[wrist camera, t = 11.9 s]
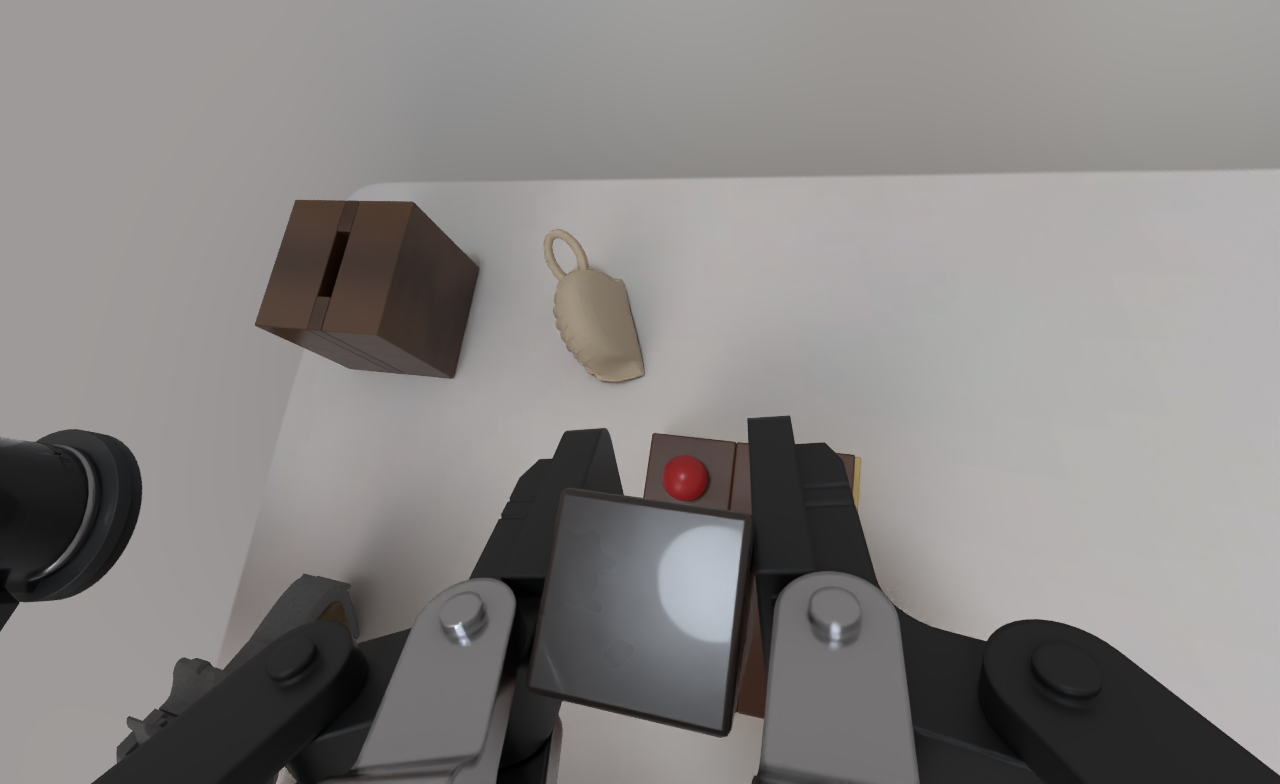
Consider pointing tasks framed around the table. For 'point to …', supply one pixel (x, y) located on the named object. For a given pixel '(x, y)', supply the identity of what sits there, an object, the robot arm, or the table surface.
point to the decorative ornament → (594, 316)
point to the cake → (720, 483)
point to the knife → (646, 610)
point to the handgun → (247, 651)
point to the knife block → (370, 287)
